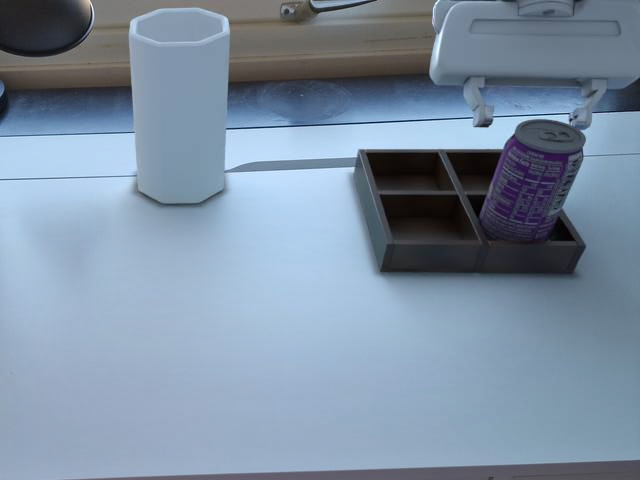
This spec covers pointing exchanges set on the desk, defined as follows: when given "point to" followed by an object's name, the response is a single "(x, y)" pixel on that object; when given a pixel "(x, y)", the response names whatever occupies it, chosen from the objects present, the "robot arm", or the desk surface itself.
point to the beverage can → (532, 181)
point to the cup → (180, 102)
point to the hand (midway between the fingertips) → (530, 127)
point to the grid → (447, 215)
